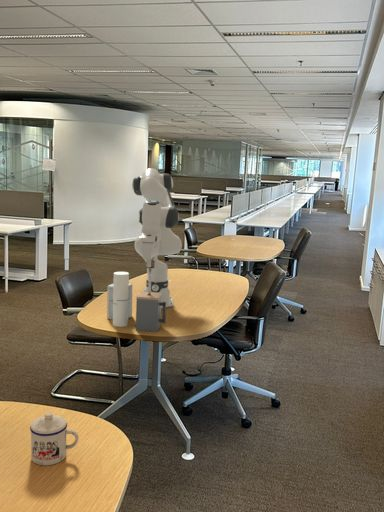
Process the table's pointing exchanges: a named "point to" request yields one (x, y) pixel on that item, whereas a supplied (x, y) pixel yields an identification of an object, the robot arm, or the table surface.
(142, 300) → the press jug
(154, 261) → the plunger
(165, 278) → the robot arm
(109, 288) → the supplement box
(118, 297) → the cylindrical container
